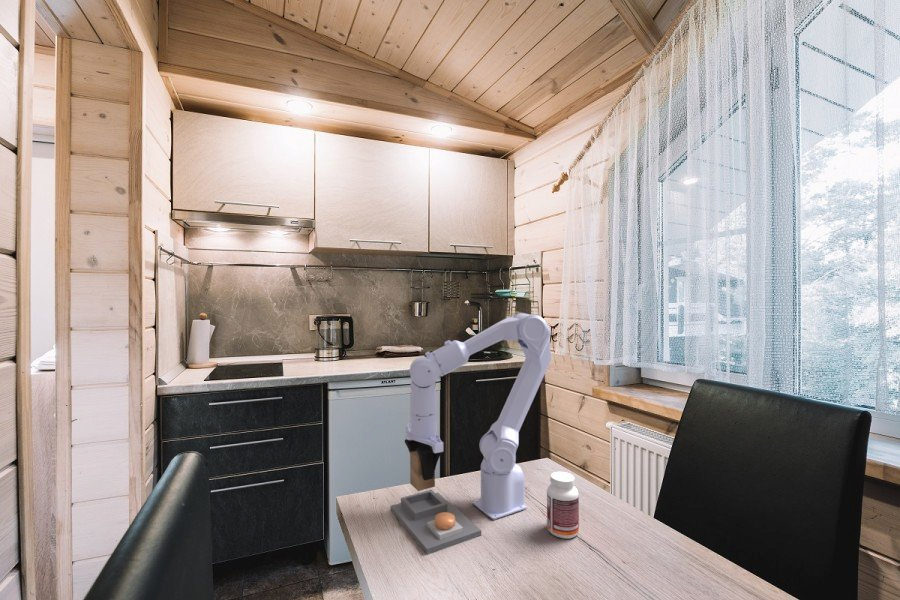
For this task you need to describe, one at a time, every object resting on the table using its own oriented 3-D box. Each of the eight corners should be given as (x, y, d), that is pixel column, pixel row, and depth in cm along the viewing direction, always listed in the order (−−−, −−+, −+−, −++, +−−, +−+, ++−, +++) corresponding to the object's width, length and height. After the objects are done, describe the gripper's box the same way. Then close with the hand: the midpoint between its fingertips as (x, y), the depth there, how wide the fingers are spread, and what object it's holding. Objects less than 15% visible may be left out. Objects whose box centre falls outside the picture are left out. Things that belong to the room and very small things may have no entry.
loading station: (438, 496, 97) (438, 486, 97) (481, 535, 81) (481, 522, 81) (390, 510, 91) (390, 499, 91) (427, 554, 75) (426, 540, 75)
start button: (448, 516, 85) (448, 510, 85) (458, 525, 81) (458, 519, 81) (431, 521, 83) (431, 515, 83) (440, 531, 79) (440, 525, 79)
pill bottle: (585, 533, 82) (585, 478, 82) (564, 543, 78) (564, 486, 78) (561, 519, 87) (561, 467, 87) (540, 528, 84) (540, 474, 84)
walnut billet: (426, 479, 93) (426, 448, 92) (434, 486, 89) (434, 454, 89) (410, 483, 91) (410, 452, 90) (418, 491, 87) (417, 458, 87)
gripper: (393, 407, 94) (393, 466, 94) (421, 424, 82) (421, 492, 82) (421, 403, 98) (421, 460, 98) (452, 419, 85) (452, 484, 85)
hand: (423, 474), depth 90 cm, fingers closed on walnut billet, 4 cm apart
